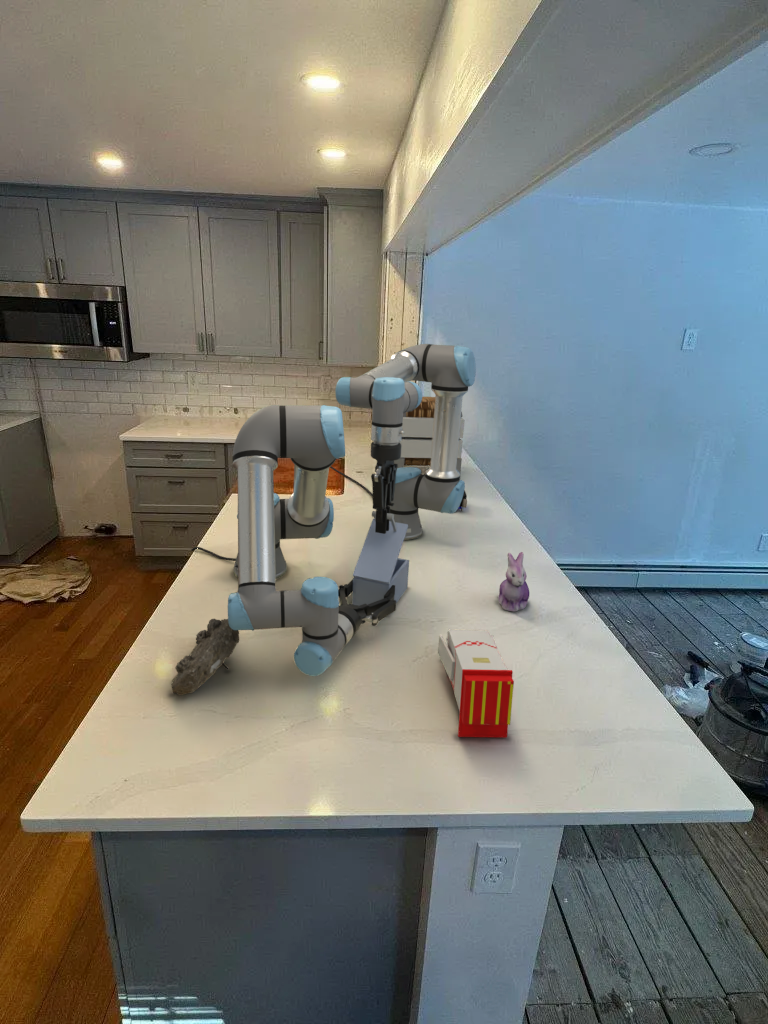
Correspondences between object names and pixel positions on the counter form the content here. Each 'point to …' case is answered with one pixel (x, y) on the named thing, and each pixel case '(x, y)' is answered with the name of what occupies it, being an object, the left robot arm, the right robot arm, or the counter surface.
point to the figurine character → (463, 502)
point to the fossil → (205, 656)
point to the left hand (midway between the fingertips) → (374, 585)
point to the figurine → (514, 585)
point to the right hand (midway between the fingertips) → (382, 531)
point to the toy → (478, 682)
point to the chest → (381, 585)
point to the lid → (380, 552)
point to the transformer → (422, 436)
